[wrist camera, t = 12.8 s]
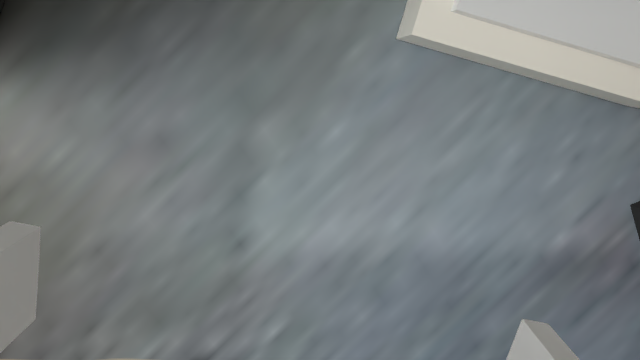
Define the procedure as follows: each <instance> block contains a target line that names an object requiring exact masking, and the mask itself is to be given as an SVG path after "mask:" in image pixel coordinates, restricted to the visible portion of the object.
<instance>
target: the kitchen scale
mask: <svg viewBox="0 0 640 360" xmlns="http://www.w3.org/2000/svg"><path fill="white" fill-rule="evenodd" d="M396 39H398V40H401V41H405V42H408V43H412V44H415V45H419V46H422V47H425V48H429V49H432V50H436V51H439V52H443V53H446V54H450V55H453V56H456V57H460V58H463V59H467V60H470V61H474V62H477V63H481V64H484V65H487V66H491V67H494V68H498V69H501V70H505V71H508V72H512V73H515V74H518V75H522V76H525V77H529V78H532V79H536V80H539V81H543V82H546V83H549V84H553V85H556V86H560V87H563V88H567V89H570V90H573V91H577V92H580V93H584V94H587V95H591V96H594V97H598V98H601V99H604V100H608V101H611V102H615V103H618V104H622V105H625V106H629V107H634V108H640V0H408V1H407V4H406V7H405V11H404V14H403V17H402V21H401V24H400V27H399V31H398V34H397V37H396Z"/></svg>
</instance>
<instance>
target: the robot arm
mask: <svg viewBox="0 0 640 360" xmlns="http://www.w3.org/2000/svg"><path fill="white" fill-rule="evenodd" d="M3 4H4V0H0V12H1V10H2V7H3ZM40 234H41V227H39V226H33V225H28V224H23V223H18V222H12V221H10V222H8V223H6V224H4V225H2V226H1V227H0V353H1V352H2V351H3V350H4V349H5V348H6V347H7V346H8V345H9V344H10V343H11V342H12V341H13V340H14V339H15V338H16V337H17V336H18V335H20V334H21V333H22V332H23V331H24V330H25V329H26V328H27V327H28V326H29V325H30V324H31V323H32V322H33V321H34V320H35V319H36V303H37V286H38V269H39V252H40ZM506 360H579V358H578V357H577V356H576V355H575V354H574V353H573V352H572V350H571V349H570V348H569V347H568V346H567V345H566V344H565V343H564V341H563V340H562V339H561V338H560V337H559V336H558V335H557V333H556V332H555V331H554V330H553V329H552V328H551V327H550V325H549V324H547V323H542V322H536V321H531V320H526V319H522V321H521V323H520V326H519V328H518V331H517V334H516V336H515V339H514V341H513V344H512V346H511V349H510V352H509V354H508V357H507V359H506Z"/></svg>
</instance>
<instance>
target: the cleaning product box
mask: <svg viewBox="0 0 640 360" xmlns="http://www.w3.org/2000/svg"><path fill="white" fill-rule="evenodd" d="M631 209H632V213H633V217H634V220H635V224H636V228H637V232H638V236H639V239H640V201H639V202H636V203H634V204H631Z"/></svg>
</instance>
